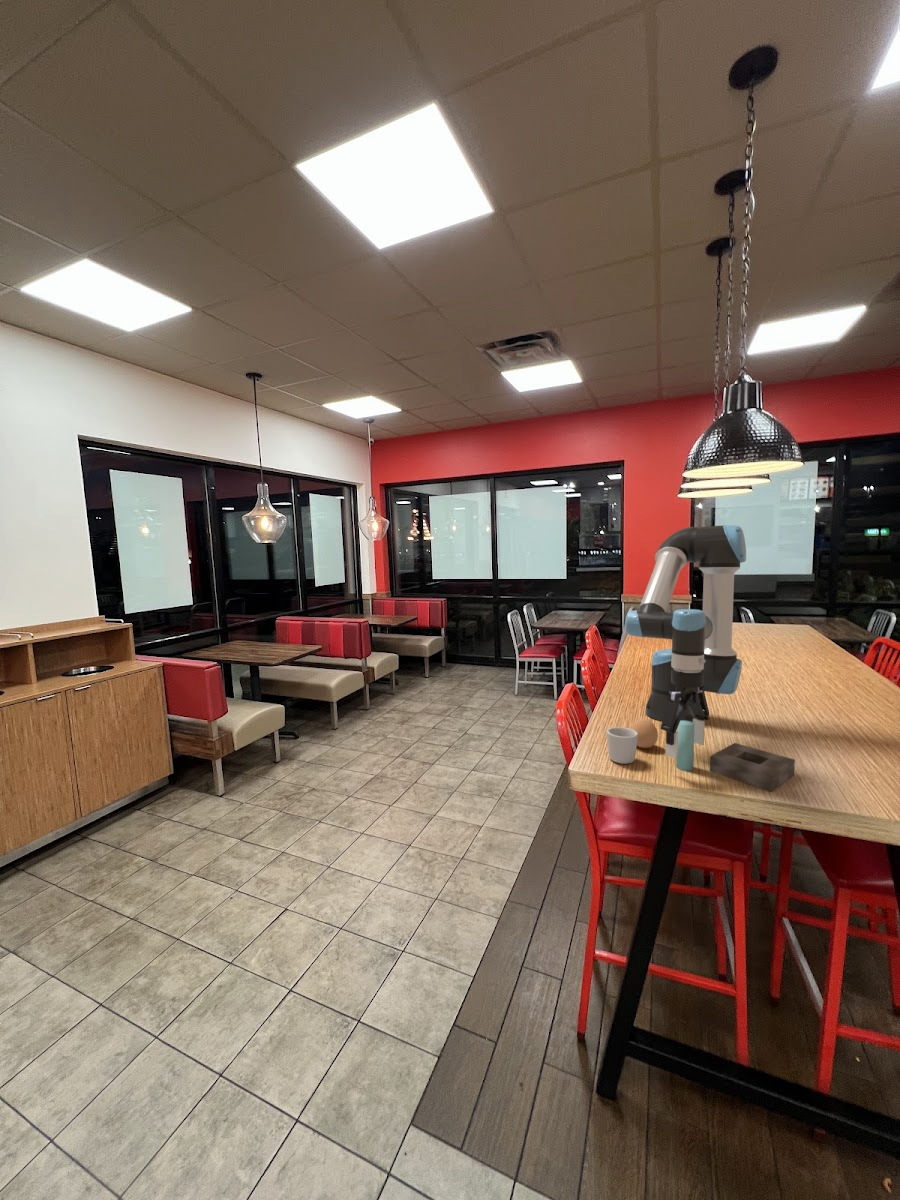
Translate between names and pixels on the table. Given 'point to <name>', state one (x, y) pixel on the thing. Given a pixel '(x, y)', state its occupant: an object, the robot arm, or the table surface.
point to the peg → (685, 745)
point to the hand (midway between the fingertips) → (685, 749)
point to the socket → (752, 766)
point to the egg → (645, 733)
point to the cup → (622, 744)
